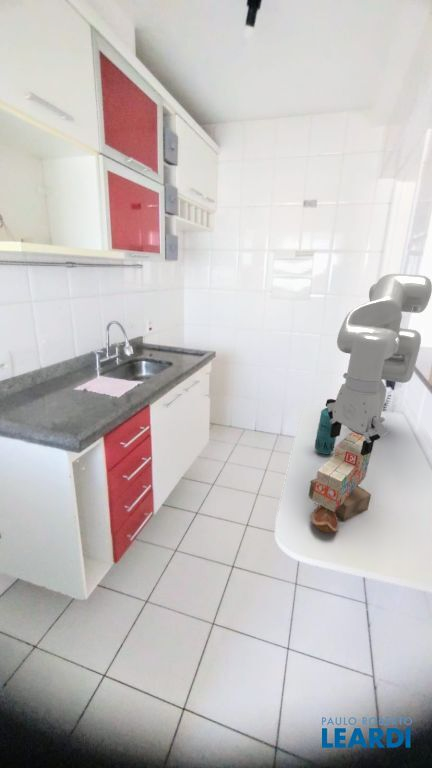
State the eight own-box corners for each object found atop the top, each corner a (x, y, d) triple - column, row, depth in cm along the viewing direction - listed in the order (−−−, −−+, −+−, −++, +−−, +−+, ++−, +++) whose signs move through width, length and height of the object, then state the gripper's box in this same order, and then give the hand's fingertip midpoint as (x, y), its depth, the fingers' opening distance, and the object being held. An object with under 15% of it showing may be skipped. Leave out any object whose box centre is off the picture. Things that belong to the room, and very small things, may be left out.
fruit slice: (336, 544, 81) (340, 527, 79) (307, 535, 83) (310, 519, 81) (338, 521, 88) (341, 505, 86) (311, 513, 90) (314, 498, 88)
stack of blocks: (334, 513, 83) (343, 470, 79) (311, 501, 87) (318, 459, 83) (365, 476, 98) (374, 439, 94) (344, 467, 102) (352, 431, 98)
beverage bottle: (314, 446, 123) (322, 395, 117) (333, 450, 121) (343, 398, 115) (312, 455, 118) (321, 402, 111) (333, 460, 116) (343, 405, 109)
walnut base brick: (332, 485, 102) (335, 471, 100) (367, 509, 93) (371, 494, 91) (308, 495, 97) (311, 480, 95) (342, 522, 88) (346, 506, 86)
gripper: (323, 375, 88) (314, 433, 94) (384, 399, 74) (369, 465, 80) (343, 371, 92) (333, 427, 98) (404, 393, 78) (388, 457, 84)
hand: (349, 444), depth 89 cm, fingers open, 9 cm apart
